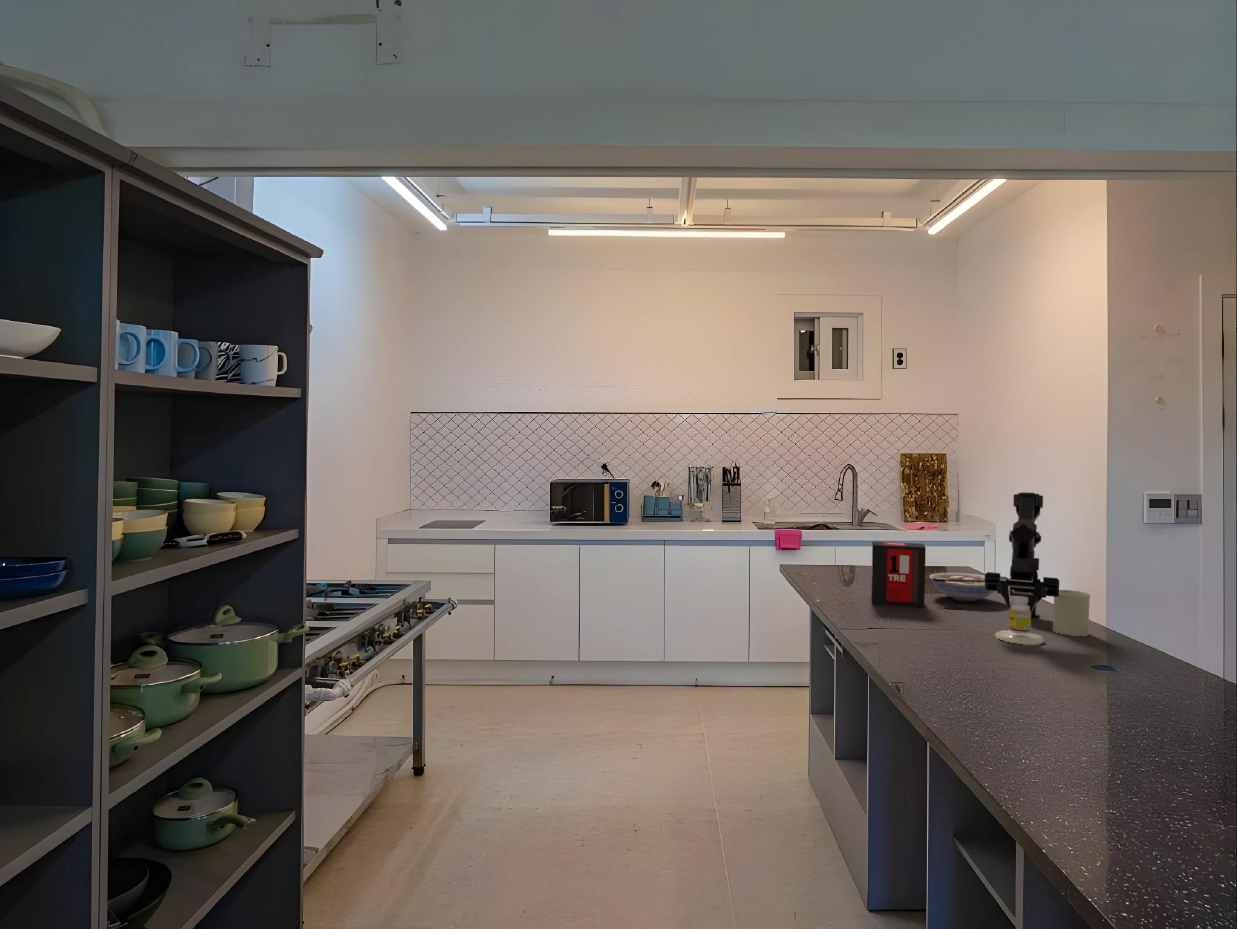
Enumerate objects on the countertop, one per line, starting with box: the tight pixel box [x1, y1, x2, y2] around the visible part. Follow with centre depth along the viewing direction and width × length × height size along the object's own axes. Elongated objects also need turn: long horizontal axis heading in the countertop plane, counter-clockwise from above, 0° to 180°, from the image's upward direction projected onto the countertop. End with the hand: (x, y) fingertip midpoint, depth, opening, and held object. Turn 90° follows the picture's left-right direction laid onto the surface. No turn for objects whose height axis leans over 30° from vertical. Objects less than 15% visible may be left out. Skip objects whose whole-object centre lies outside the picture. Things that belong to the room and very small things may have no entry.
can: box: [1051, 589, 1091, 637], centre depth 226 cm, size 9×9×12 cm
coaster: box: [994, 630, 1045, 646], centre depth 217 cm, size 12×12×1 cm
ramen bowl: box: [929, 572, 996, 603], centre depth 270 cm, size 25×23×8 cm
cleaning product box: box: [870, 541, 927, 608], centre depth 263 cm, size 16×9×20 cm, turn 73°
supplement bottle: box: [1008, 596, 1032, 634], centre depth 217 cm, size 5×5×10 cm
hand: (1019, 609), depth 216 cm, fingers closed on supplement bottle, 5 cm apart
